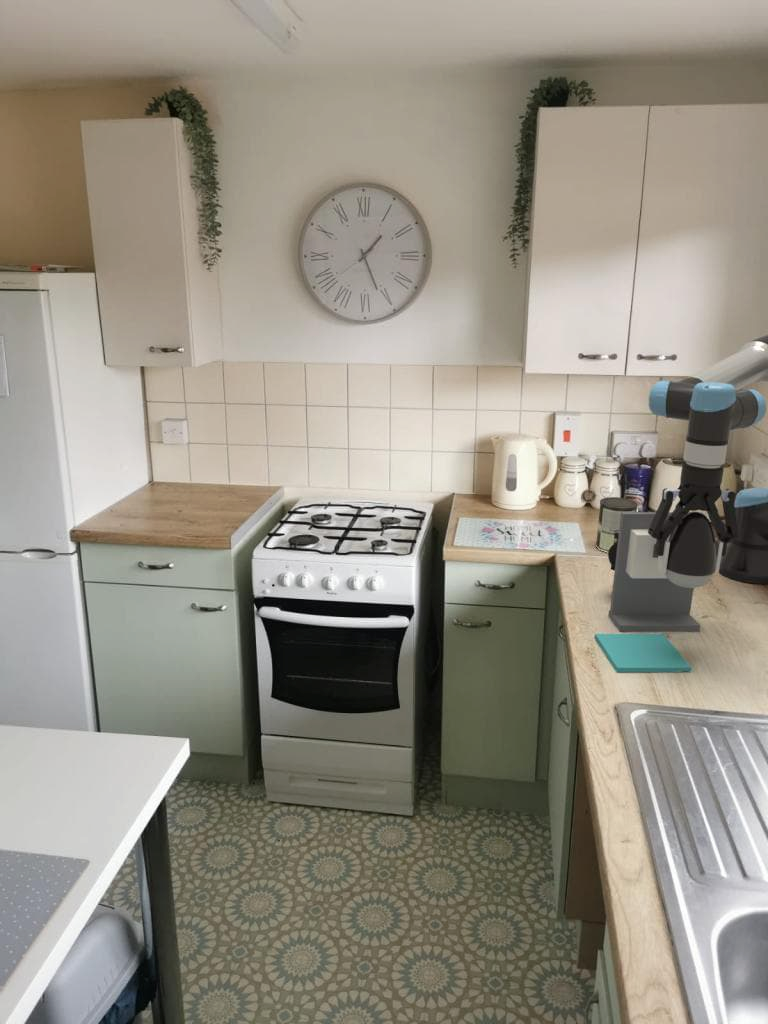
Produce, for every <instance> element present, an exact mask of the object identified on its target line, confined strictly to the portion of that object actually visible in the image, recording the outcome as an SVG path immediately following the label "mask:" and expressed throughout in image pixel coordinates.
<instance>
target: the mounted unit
mask: <svg viewBox="0 0 768 1024" xmlns="http://www.w3.org/2000/svg"><path fill="white" fill-rule="evenodd" d="M656 512H657V511H642V512H641V511H636V512H621V518H620V527H619V536H618V545H617V554H616V563H615V571H614V574H613V583H612V592H611V600H610V608H609V610H608V615H607V616H608V618H609V620H610V621H611V622H612V623H613V624H614V626H615V627H616V629H617V630H618V632H621V633H622V632H626V633H627V632H628V633H629V632H630V633H631V632H633V633H636V632H638V633H639V632H640V633H641V632H643V633H644V632H645V633H646V632H649V633H650V632H654V633H655V632H658V633H660V632H662V633H664V632H667V633H668V632H669V633H670V632H672V633H673V632H674V633H675V632H676V633H677V632H681V633H682V632H684V633H685V632H691V633H692V632H697V633H698V632H700V631H701V624H700V623H699V622H698V621H697V620H696V619H695V618H694V617H693V615H692V614H691V609H692V602H693V595H694V589H695V588H685V587H681V586H678V585H676V584H674V583H672V582H671V581H670V580H669V579H668V578H667V577H666V575H665V573H662V572H661V571H660V570H659V569H658V568H657V564H658V555H657V554H656V553H655V548H656V540H657V539H656V538H653V537H652V536H651V535H649V534H648V530H649V528H650V525H651V523H652V521H653V519H654V516H655V514H656ZM672 512H673V511H669V513H668V515H667V518H666V520H667V519H668V517H669V515H671V514H672ZM699 512H700V511H699ZM700 513H702V514H704V513H703V511H702V512H700ZM666 520H665V522H666ZM665 522H664V523H665ZM670 535H671V534H670ZM669 537H670V536H669ZM669 537H668V538H667V540H668V539H669Z"/></svg>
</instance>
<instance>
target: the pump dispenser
mask: <svg viewBox="0 0 768 1024" xmlns="http://www.w3.org/2000/svg"><path fill="white" fill-rule="evenodd" d="M702 513H703V512H702ZM702 513H700V511H697V510H696V511H689V513H688V514H686V515H685V516H684V517H683V518H682V520H681V521H680V522H679V524H678V525H677V526H676V528H675V529H674V530H673V532H672V533H671V535H670V537H669V539H668V541H669V542H670V546H669V554H668V561H667V568H666V573H665V575H666V577H667V578H668V579H669V580H670V581H671V582H672V583H674V584H676V585H678V586H681V587H685V588H694V589H695V588H696V589H697V588H700V587H703V586H704V585H706V584H708V583H709V581H710V580H711V578H712V577H713V575H714V574H716V573H715V570H716V544H715V538H716V537H715V534H714V530H713V528H712V527H713V526H712V523H711V521H710V519H709V517H707V515H705V514H704V513H703V514H702ZM672 518H673V515H669V517H668V519H669V520H671V519H672Z"/></svg>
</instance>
